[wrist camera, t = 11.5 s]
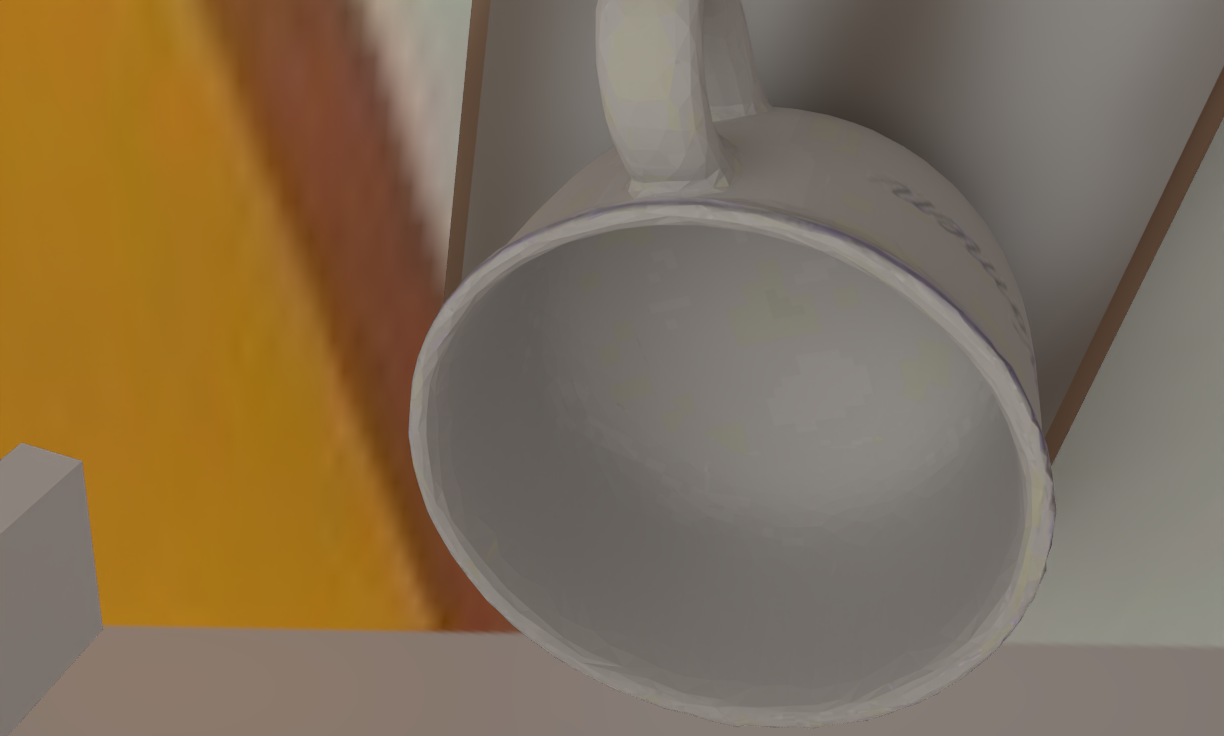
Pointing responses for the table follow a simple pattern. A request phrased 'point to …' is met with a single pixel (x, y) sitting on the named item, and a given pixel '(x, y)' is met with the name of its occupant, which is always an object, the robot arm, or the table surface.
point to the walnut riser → (909, 131)
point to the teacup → (741, 403)
